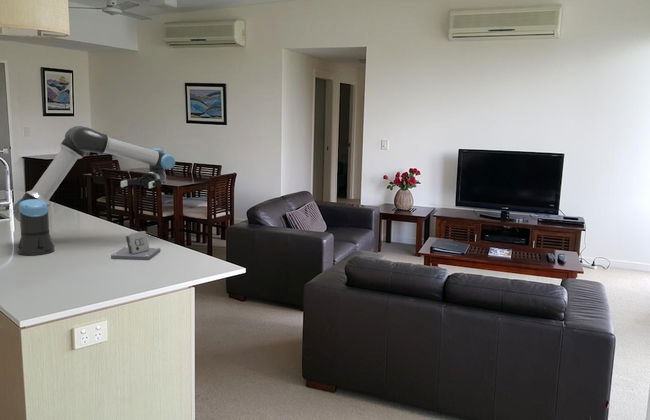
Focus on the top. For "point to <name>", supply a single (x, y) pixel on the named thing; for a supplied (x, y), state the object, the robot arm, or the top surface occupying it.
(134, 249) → the electrical switch
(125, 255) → the mounting plate
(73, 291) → the top surface
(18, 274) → the top surface
